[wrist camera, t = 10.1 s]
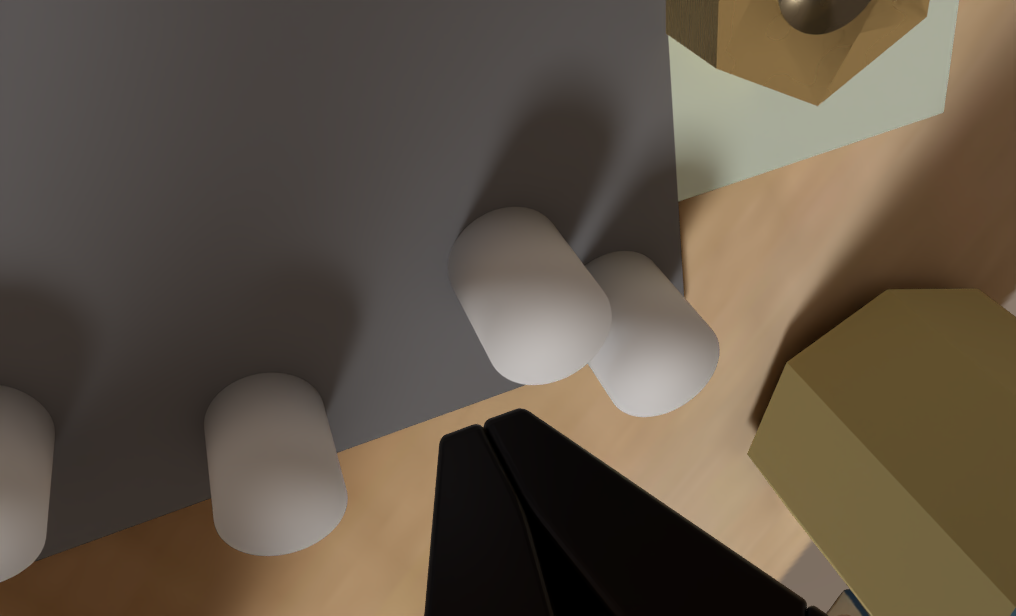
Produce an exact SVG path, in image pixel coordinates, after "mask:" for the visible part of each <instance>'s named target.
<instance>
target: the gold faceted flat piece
mask: <svg viewBox="0 0 1016 616" xmlns="http://www.w3.org/2000/svg"><path fill="white" fill-rule="evenodd" d="M929 2H930V0H666V34H667V35H669V36H670V37H672V38H673V39H674V40H676V41H677V42H679V43H680V44H682V45H683V46H684V47H686V48H687V49H689V50H690V51H692V52H693V53H694V54H696V55H697V56H699V57H700V58H702V59H703V60H704V61H706V62H707V63H709V64H710V65H712V66H713V67H714V68H716V69H718V70H721V71H724V72H727V73H729V74H732V75H735V76H737V77H740V78H743V79H745V80H748V81H751V82H754V83H756V84H759V85H762V86H764V87H767V88H770V89H772V90H775V91H778V92H781V93H783V94H786V95H789V96H791V97H794V98H797V99H799V100H802V101H805V102H808V103H810V104H813V105H816V106H819V105H820V104H821V103H822V102H823V101H825V100H826V99H827V98H828V97H830V96H831V95H832V94H833V93H834V92H836V91H837V90H838V89H839V88H841V87H842V86H843V85H844V84H845V83H847V82H848V81H849V80H850V79H852V78H853V77H854V76H855V75H856V74H858V73H859V72H860V71H861V70H863V69H864V68H865V67H866V66H867V65H869V64H870V63H871V62H872V61H874V60H875V59H876V58H877V57H878V56H880V55H881V54H882V53H883V52H885V51H886V50H887V49H888V48H889V47H891V46H892V45H893V44H894V43H896V42H897V41H898V40H899V39H900V38H902V37H903V36H904V35H905V34H907V33H908V32H909V31H910V30H911V29H913V28H914V27H915V26H916V25H918V24H919V23H920V22H921V21H922V20H924V19H925V18H926V17H927V14H928V8H929Z"/></svg>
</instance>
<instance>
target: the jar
mask: <svg viewBox="0 0 1016 616" xmlns="http://www.w3.org/2000/svg"><path fill="white" fill-rule="evenodd" d="M747 454H748V456H749V457H750V458H751V460H752V461H753V462H754V464H755V465H756V466H757V468H758V469H759V471H760V472H761V473H762V475H763V476H764V477H765V479H766V480H767V481H768V483H769V484H770V486H771V487H772V488H773V490H774V491H775V492H776V494H777V495H778V496H779V498H780V499H781V500H782V502H783V503H784V505H785V506H786V507H787V508H788V510H789V511H790V512H791V514H792V515H793V516H794V517H795V519H796V520H797V521H798V523H799V524H800V525H801V526H802V528H803V529H804V530H805V532H806V533H807V534H808V535H809V537H810V538H811V539H812V541H813V542H814V543H815V545H816V546H817V547H818V548H819V550H820V551H821V552H822V553H823V555H824V556H825V557H826V559H827V560H828V561H829V563H830V564H831V565H832V566H833V568H834V569H835V570H836V572H837V573H838V574H839V575H840V577H841V578H842V579H843V581H844V582H845V583H846V584H847V586H848V587H849V588H850V590H851V591H852V592H853V593H854V595H855V596H856V597H857V599H858V600H859V601H860V602H861V604H862V605H863V606H864V608H865V609H866V610H867V611H868V613H869V614H870V615H871V616H1016V317H1015V316H1014V315H1012V314H1011V313H1010V312H1008V311H1007V310H1006V309H1004V308H1003V307H1002V306H1000V305H999V304H998V303H996V302H995V301H994V300H992V299H991V298H990V297H988V296H987V295H986V294H984V293H983V292H982V291H980V290H979V289H887V290H886V291H884V292H883V293H882V294H880V295H879V296H877V297H876V298H875V299H873V300H872V301H870V302H869V303H868V304H866V305H865V306H864V307H862V308H861V309H859V310H858V311H857V312H855V313H854V314H853V315H851V316H850V317H848V318H847V319H846V320H844V321H843V322H842V323H840V324H839V325H837V326H836V327H835V328H833V329H832V330H830V331H829V332H828V333H826V334H825V335H824V336H822V337H821V338H819V339H818V340H817V341H815V342H814V343H813V344H811V345H810V346H808V347H807V348H806V349H804V350H803V351H802V352H800V353H799V354H797V355H796V356H795V357H793V358H792V359H791V360H789V361H788V362H787V363H786V365H785V367H784V370H783V372H782V374H781V377H780V379H779V381H778V384H777V386H776V388H775V391H774V393H773V395H772V398H771V400H770V402H769V405H768V407H767V409H766V412H765V414H764V416H763V419H762V421H761V423H760V426H759V428H758V430H757V432H756V435H755V437H754V439H753V442H752V444H751V446H750V449H749V451H748V453H747Z"/></svg>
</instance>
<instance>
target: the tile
mask: <svg viewBox="0 0 1016 616" xmlns="http://www.w3.org/2000/svg"><path fill="white" fill-rule="evenodd" d="M958 4H959V0H930V2H929V8H928V14H927V17H926V18H925V19H924V20H922V21H921V22H920V23H919V24H918V25H916V26H915V27H914V28H913V29H911V30H910V31H909V32H908V33H907V34H905V35H904V36H903V37H902V38H900V39H899V40H898V41H897V42H896V43H894V44H893V45H892V46H891V47H889V48H888V49H887V50H886V51H885V52H883V53H882V54H881V55H880V56H878V57H877V58H876V59H875V60H874V61H872V62H871V63H870V64H869V65H867V66H866V67H865V68H864V69H863V70H861V71H860V72H859V73H858V74H856V75H855V76H854V77H853V78H852V79H850V80H849V81H848V82H847V83H845V84H844V85H843V86H842V87H841V88H839V89H838V90H837V91H836V92H834V93H833V94H832V95H831V96H830V97H828V98H827V99H826V100H825V101H823V102H822V103H821V104H820V105H819V106H816V105H813V104H810V103H808V102H805V101H802V100H799V99H797V98H794V97H791V96H789V95H786V94H783V93H781V92H778V91H775V90H772V89H770V88H767V87H764V86H762V85H759V84H756V83H754V82H751V81H748V80H745V79H743V78H740V77H737V76H735V75H732V74H729V73H727V72H724V71H721V70H718V69H716V68H714V67H713V66H712V65H710V64H709V63H707V62H706V61H704V60H703V59H702V58H700V57H699V56H697V55H696V54H694V53H693V52H692V51H690V50H689V49H687V48H686V47H684V46H683V45H682V44H680V43H679V42H677V41H676V40H674V39H673V38H672V37H670V36H669V35H668V40H669V56H670V73H671V89H672V106H673V123H674V139H675V156H676V173H677V189H678V202H679V201H682V200H685V199H688V198H691V197H694V196H697V195H700V194H703V193H706V192H709V191H712V190H715V189H718V188H721V187H724V186H727V185H730V184H732V183H735V182H738V181H741V180H744V179H747V178H750V177H753V176H756V175H759V174H762V173H765V172H768V171H771V170H774V169H777V168H780V167H783V166H786V165H789V164H792V163H795V162H798V161H801V160H804V159H807V158H810V157H813V156H816V155H819V154H822V153H825V152H828V151H831V150H834V149H837V148H840V147H843V146H846V145H849V144H852V143H855V142H858V141H861V140H864V139H867V138H870V137H873V136H876V135H878V134H881V133H884V132H887V131H890V130H893V129H896V128H899V127H902V126H905V125H908V124H911V123H914V122H917V121H920V120H923V119H926V118H929V117H932V116H935V115H938V114H941V113H944V106H945V99H946V92H947V84H948V77H949V70H950V63H951V55H952V48H953V41H954V33H955V26H956V19H957V11H958Z"/></svg>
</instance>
